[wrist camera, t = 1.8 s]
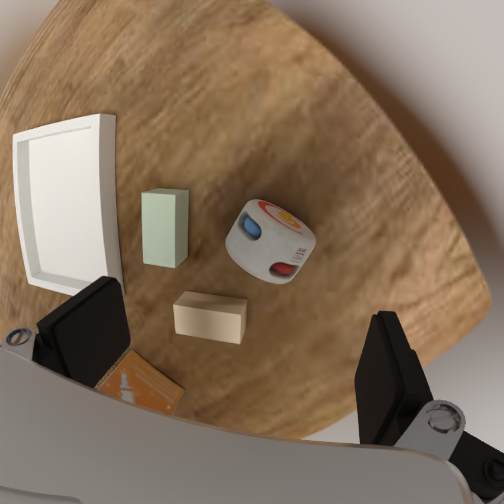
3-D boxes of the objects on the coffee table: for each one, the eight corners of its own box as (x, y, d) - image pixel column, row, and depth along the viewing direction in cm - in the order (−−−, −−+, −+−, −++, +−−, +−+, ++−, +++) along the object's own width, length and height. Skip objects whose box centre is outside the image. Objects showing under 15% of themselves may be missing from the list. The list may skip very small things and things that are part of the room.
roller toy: (257, 185, 24) (242, 195, 18) (324, 227, 24) (329, 249, 18) (230, 231, 25) (209, 253, 20) (295, 270, 25) (291, 302, 20)
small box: (186, 389, 32) (142, 474, 20) (164, 408, 35) (122, 483, 22) (131, 347, 32) (69, 422, 20) (114, 371, 34) (60, 438, 22)
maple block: (247, 298, 27) (241, 314, 24) (246, 326, 28) (240, 344, 25) (185, 290, 28) (173, 304, 25) (187, 316, 29) (175, 333, 26)
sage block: (188, 256, 27) (175, 268, 24) (158, 252, 27) (143, 263, 25) (189, 189, 25) (175, 194, 22) (158, 187, 25) (141, 192, 23)
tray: (125, 294, 29) (112, 305, 27) (41, 276, 32) (28, 283, 29) (115, 115, 24) (99, 113, 21) (28, 133, 26) (13, 134, 23)
